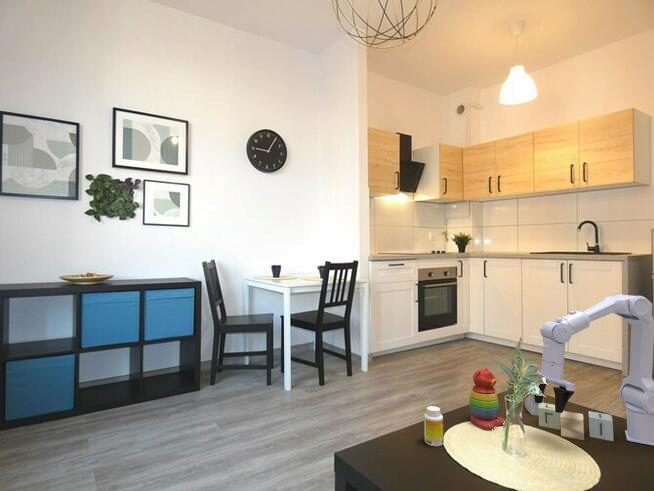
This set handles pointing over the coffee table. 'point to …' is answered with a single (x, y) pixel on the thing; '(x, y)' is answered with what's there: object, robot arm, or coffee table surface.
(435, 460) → the coffee table surface
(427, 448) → the coffee table surface
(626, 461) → the coffee table surface
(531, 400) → the gray thick disc
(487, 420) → the stacking bear
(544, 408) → the green letter cube
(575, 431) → the plain birch block
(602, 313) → the robot arm
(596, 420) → the pale grey cube
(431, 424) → the supplement bottle
